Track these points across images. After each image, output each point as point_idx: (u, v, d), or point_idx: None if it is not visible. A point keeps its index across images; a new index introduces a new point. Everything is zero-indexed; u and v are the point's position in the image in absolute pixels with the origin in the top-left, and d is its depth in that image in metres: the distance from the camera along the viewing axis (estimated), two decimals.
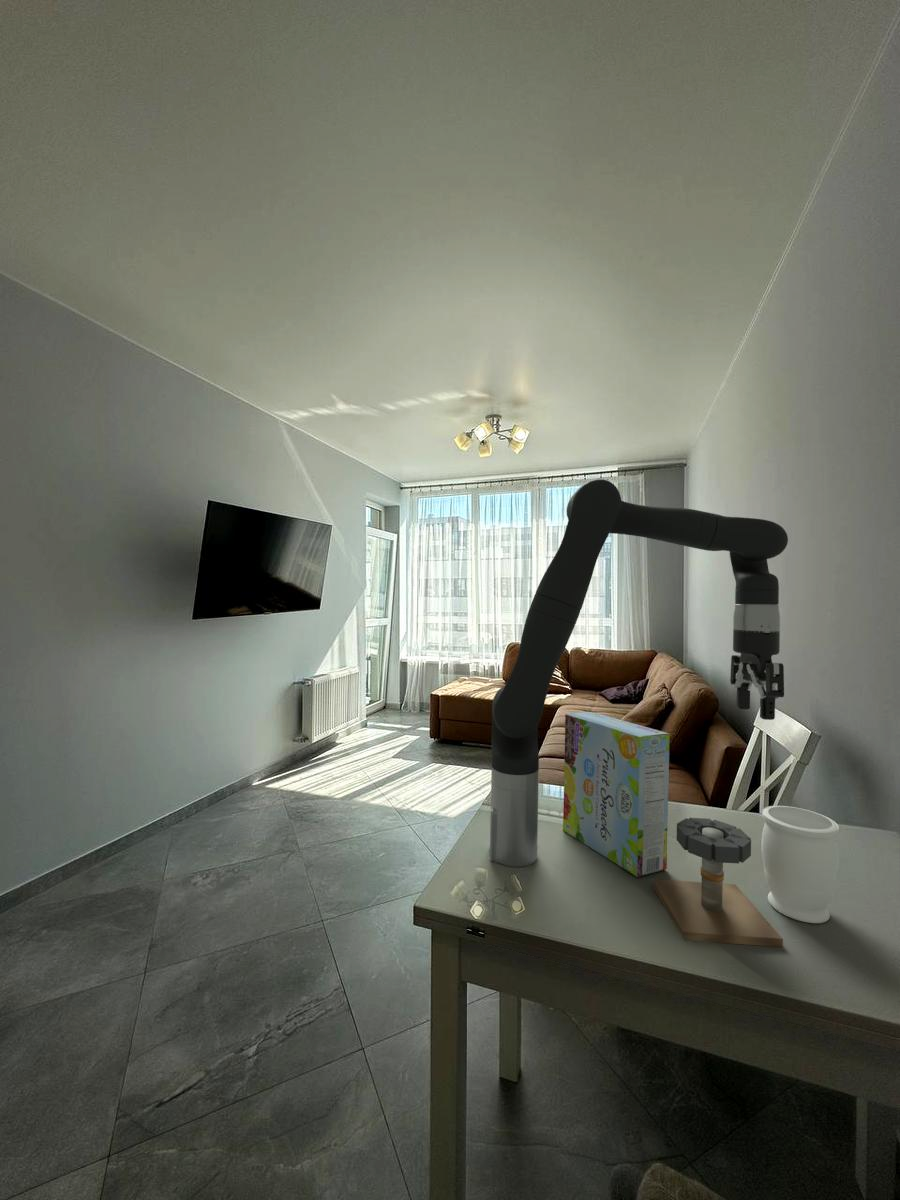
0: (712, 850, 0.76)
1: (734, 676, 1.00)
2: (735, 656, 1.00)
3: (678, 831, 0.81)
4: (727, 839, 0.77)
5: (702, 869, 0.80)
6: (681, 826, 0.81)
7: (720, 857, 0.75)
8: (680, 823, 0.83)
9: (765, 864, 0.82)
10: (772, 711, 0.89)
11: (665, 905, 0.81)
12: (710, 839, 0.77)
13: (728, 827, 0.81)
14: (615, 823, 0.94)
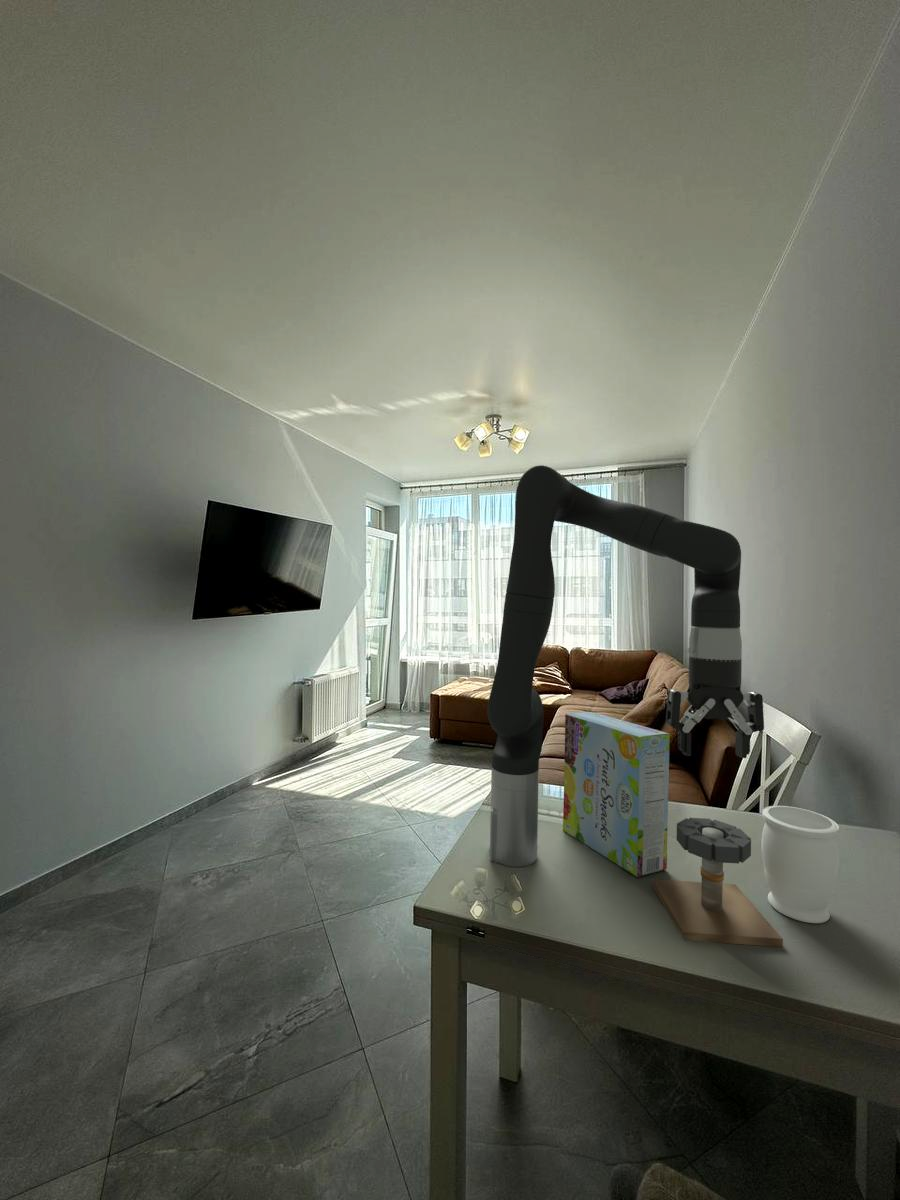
0: (712, 850, 0.76)
1: None
2: (678, 692, 0.79)
3: (678, 831, 0.81)
4: (727, 839, 0.77)
5: (702, 869, 0.80)
6: (681, 826, 0.81)
7: (720, 857, 0.75)
8: (680, 823, 0.83)
9: (765, 864, 0.82)
10: None
11: (665, 905, 0.81)
12: (710, 839, 0.77)
13: (728, 827, 0.81)
14: (615, 823, 0.94)
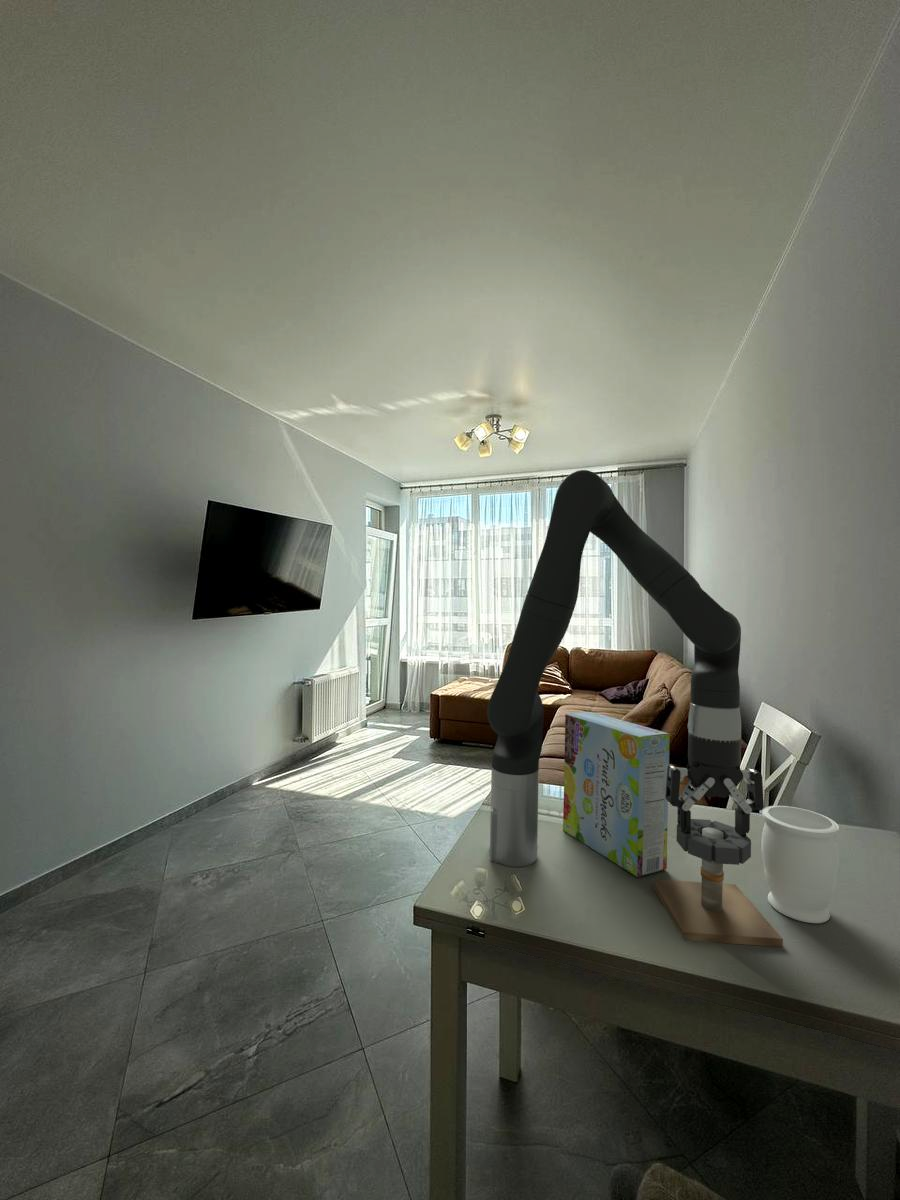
0: (712, 851, 0.76)
1: None
2: (678, 769, 0.79)
3: (678, 832, 0.81)
4: (727, 840, 0.77)
5: (702, 869, 0.80)
6: None
7: (720, 858, 0.75)
8: None
9: (765, 864, 0.82)
10: None
11: (665, 905, 0.81)
12: (710, 840, 0.77)
13: (728, 828, 0.81)
14: (615, 823, 0.94)
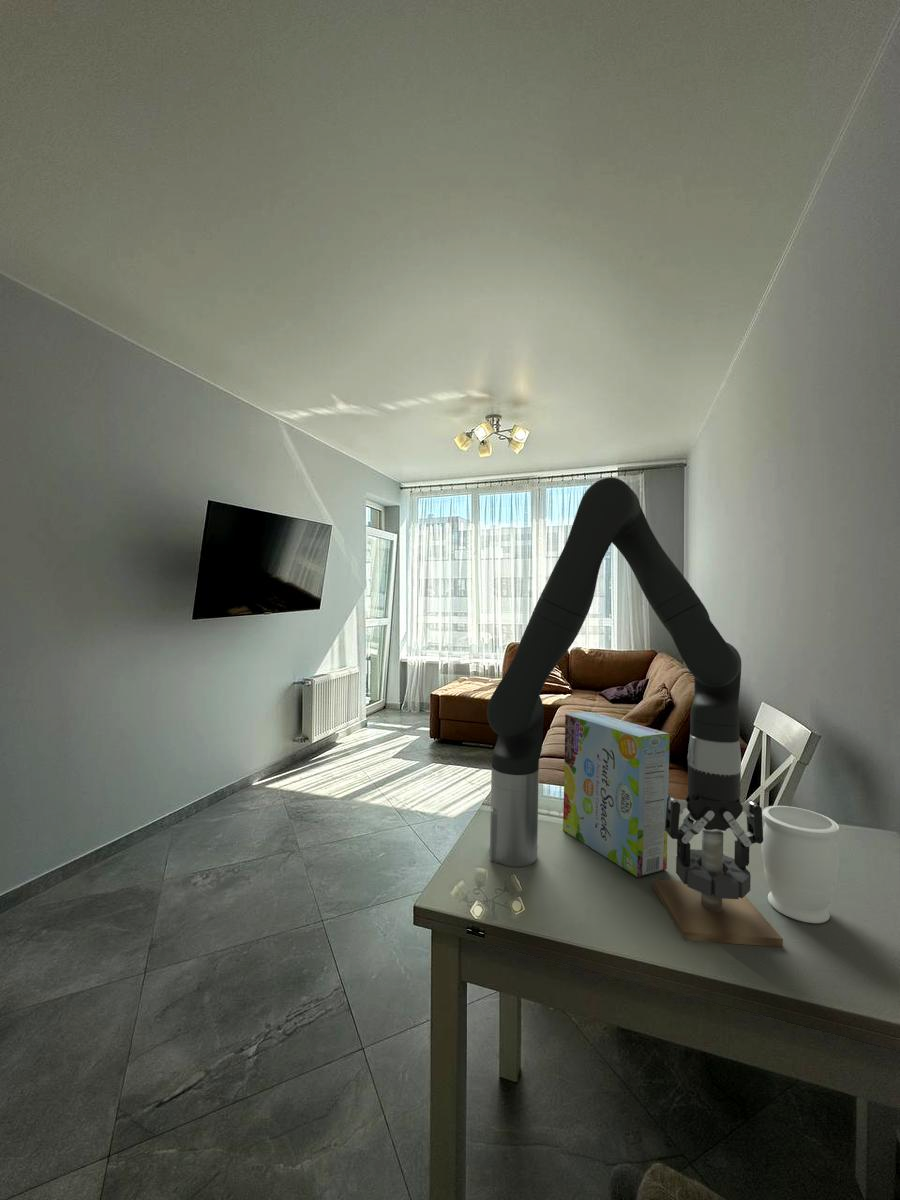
0: (711, 885, 0.76)
1: None
2: (678, 802, 0.79)
3: (677, 864, 0.81)
4: (727, 874, 0.77)
5: None
6: None
7: (719, 893, 0.75)
8: None
9: (765, 864, 0.82)
10: None
11: (665, 905, 0.81)
12: (709, 874, 0.77)
13: (727, 859, 0.81)
14: (615, 823, 0.94)
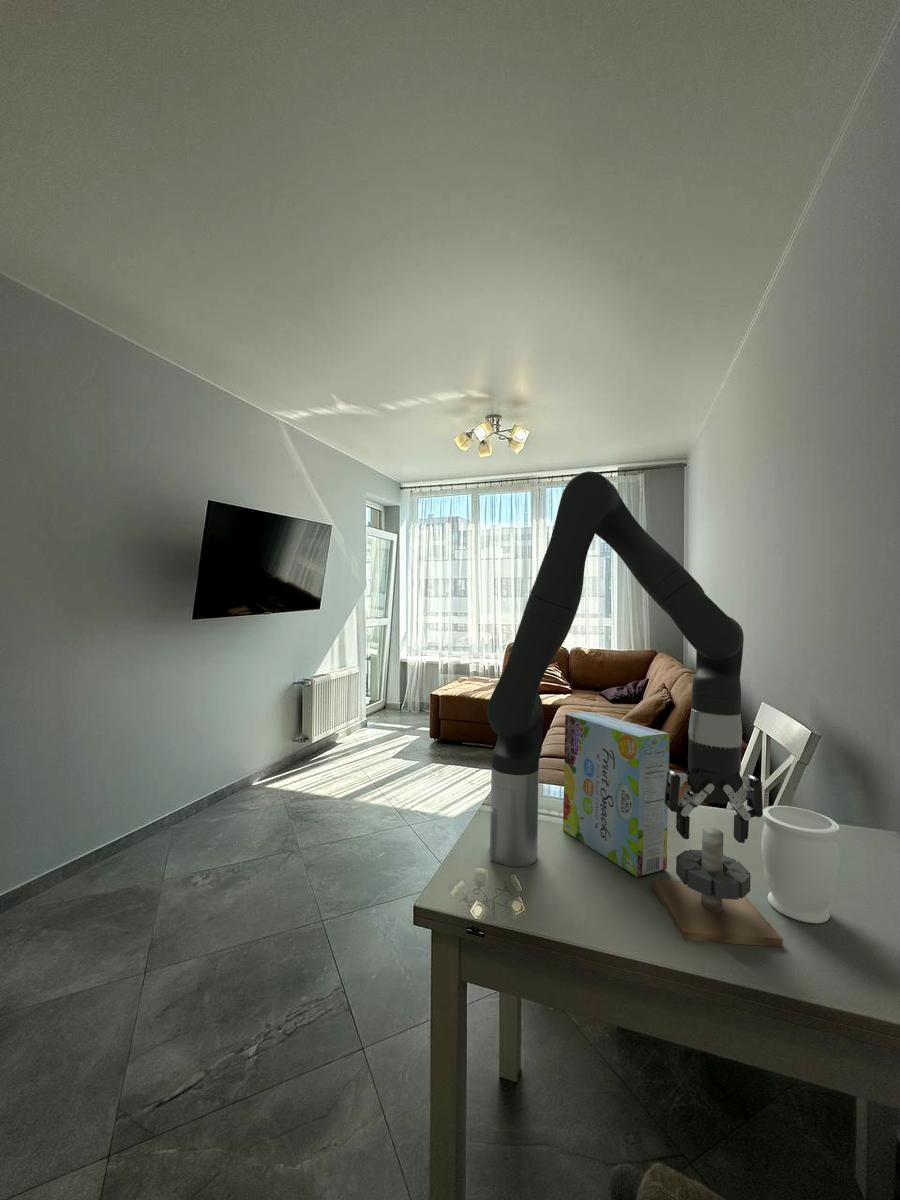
0: (711, 886, 0.76)
1: None
2: (678, 775, 0.79)
3: (677, 864, 0.81)
4: (727, 874, 0.77)
5: None
6: (680, 859, 0.81)
7: (719, 893, 0.75)
8: (679, 856, 0.82)
9: (765, 864, 0.82)
10: None
11: (665, 905, 0.81)
12: (709, 874, 0.77)
13: (727, 860, 0.81)
14: (615, 823, 0.94)
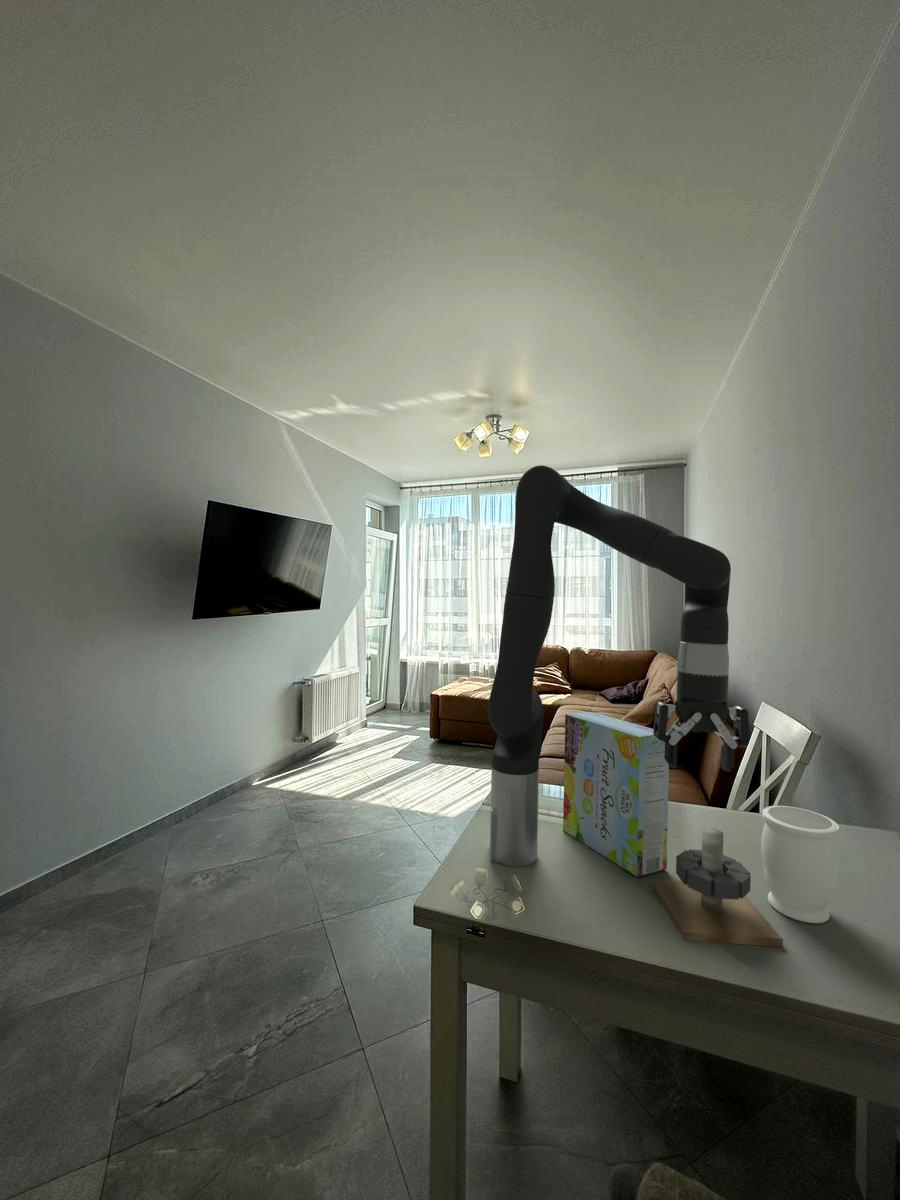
0: (711, 886, 0.76)
1: None
2: (666, 705, 0.81)
3: (677, 864, 0.81)
4: (727, 874, 0.77)
5: None
6: (680, 859, 0.81)
7: (719, 893, 0.75)
8: (679, 856, 0.82)
9: (765, 864, 0.82)
10: None
11: (665, 905, 0.81)
12: (709, 874, 0.77)
13: (727, 860, 0.81)
14: (615, 823, 0.94)
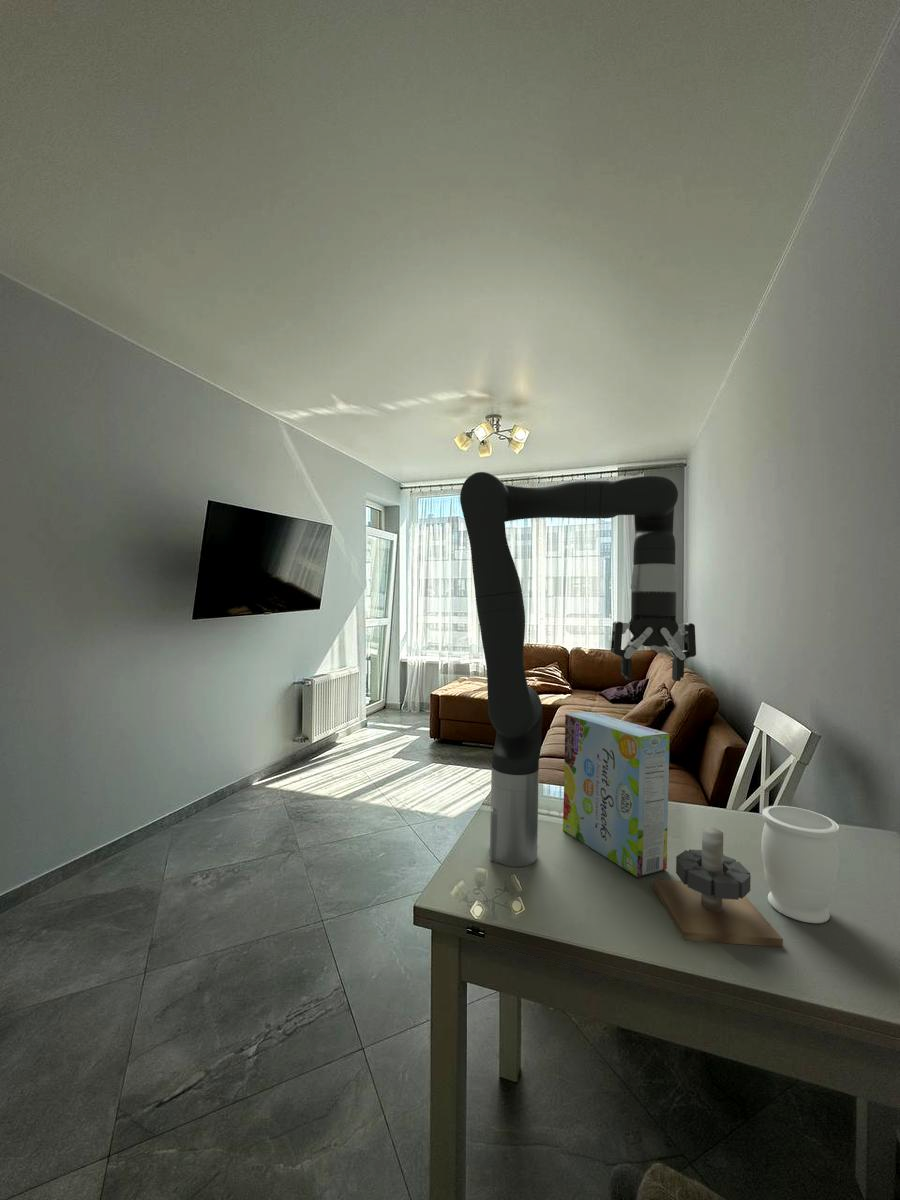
0: (711, 886, 0.76)
1: None
2: None
3: (677, 864, 0.81)
4: (727, 874, 0.77)
5: None
6: (680, 859, 0.81)
7: (719, 893, 0.75)
8: (679, 856, 0.82)
9: (765, 864, 0.82)
10: None
11: (665, 905, 0.81)
12: (709, 874, 0.77)
13: (727, 860, 0.81)
14: (615, 823, 0.94)
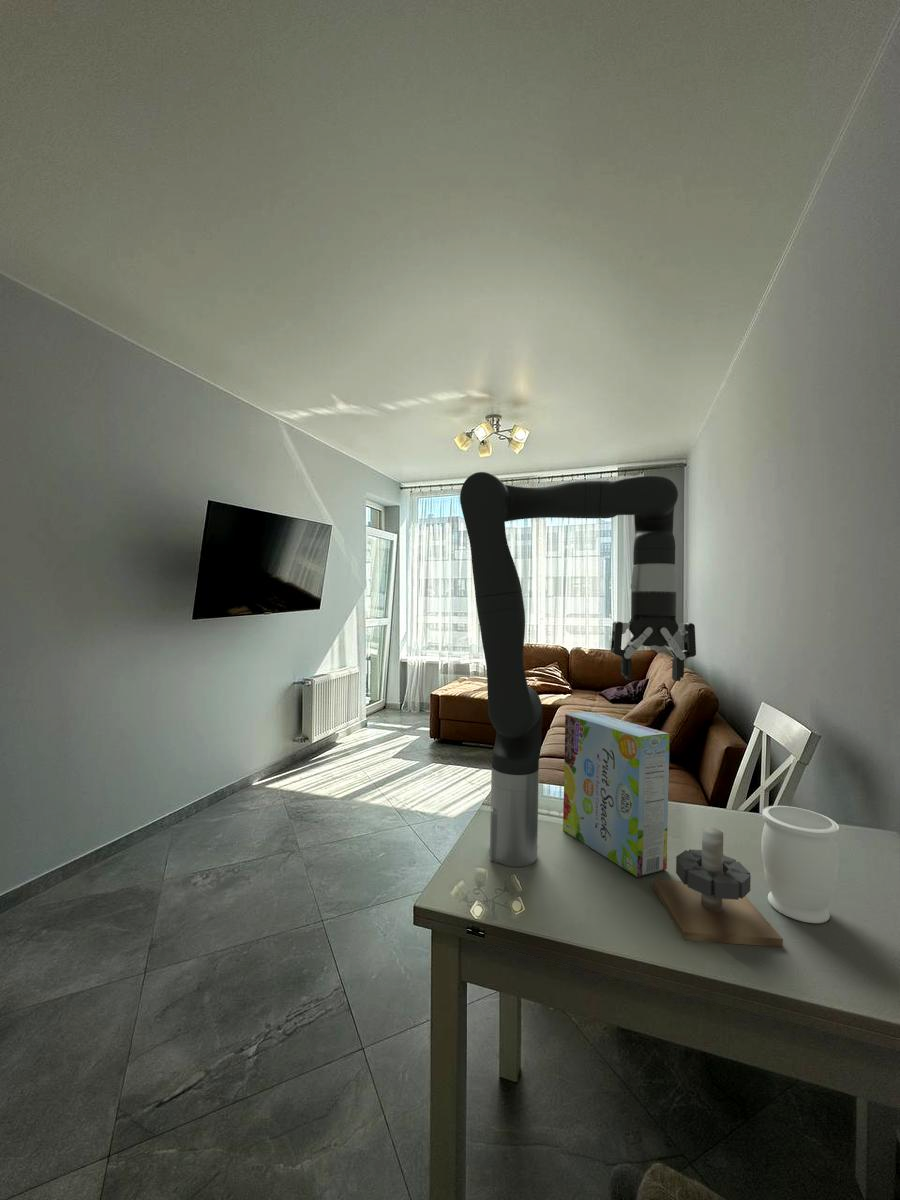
0: (711, 886, 0.76)
1: (620, 645, 0.89)
2: None
3: (677, 864, 0.81)
4: (727, 874, 0.77)
5: None
6: (680, 859, 0.81)
7: (719, 893, 0.75)
8: (679, 856, 0.82)
9: (765, 864, 0.82)
10: None
11: (665, 905, 0.81)
12: (709, 874, 0.77)
13: (727, 860, 0.81)
14: (615, 823, 0.94)
